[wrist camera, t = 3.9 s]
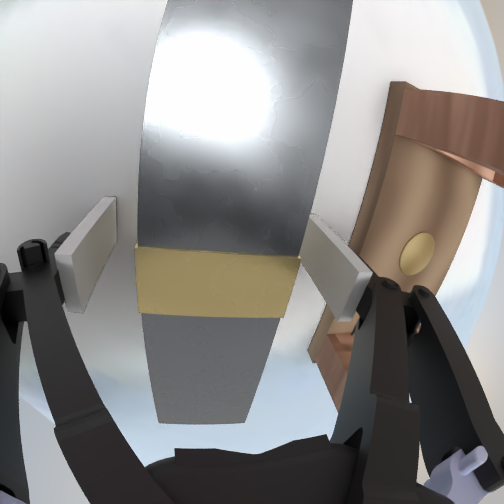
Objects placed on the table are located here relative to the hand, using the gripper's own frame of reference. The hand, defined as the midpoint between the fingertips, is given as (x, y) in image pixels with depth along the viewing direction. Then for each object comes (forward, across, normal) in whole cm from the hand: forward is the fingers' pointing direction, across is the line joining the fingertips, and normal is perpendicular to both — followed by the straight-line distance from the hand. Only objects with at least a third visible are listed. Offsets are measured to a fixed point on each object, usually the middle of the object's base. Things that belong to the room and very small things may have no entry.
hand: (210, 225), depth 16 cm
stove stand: (0, +15, 0) cm, 15 cm away
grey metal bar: (0, 0, 0) cm, 0 cm away
